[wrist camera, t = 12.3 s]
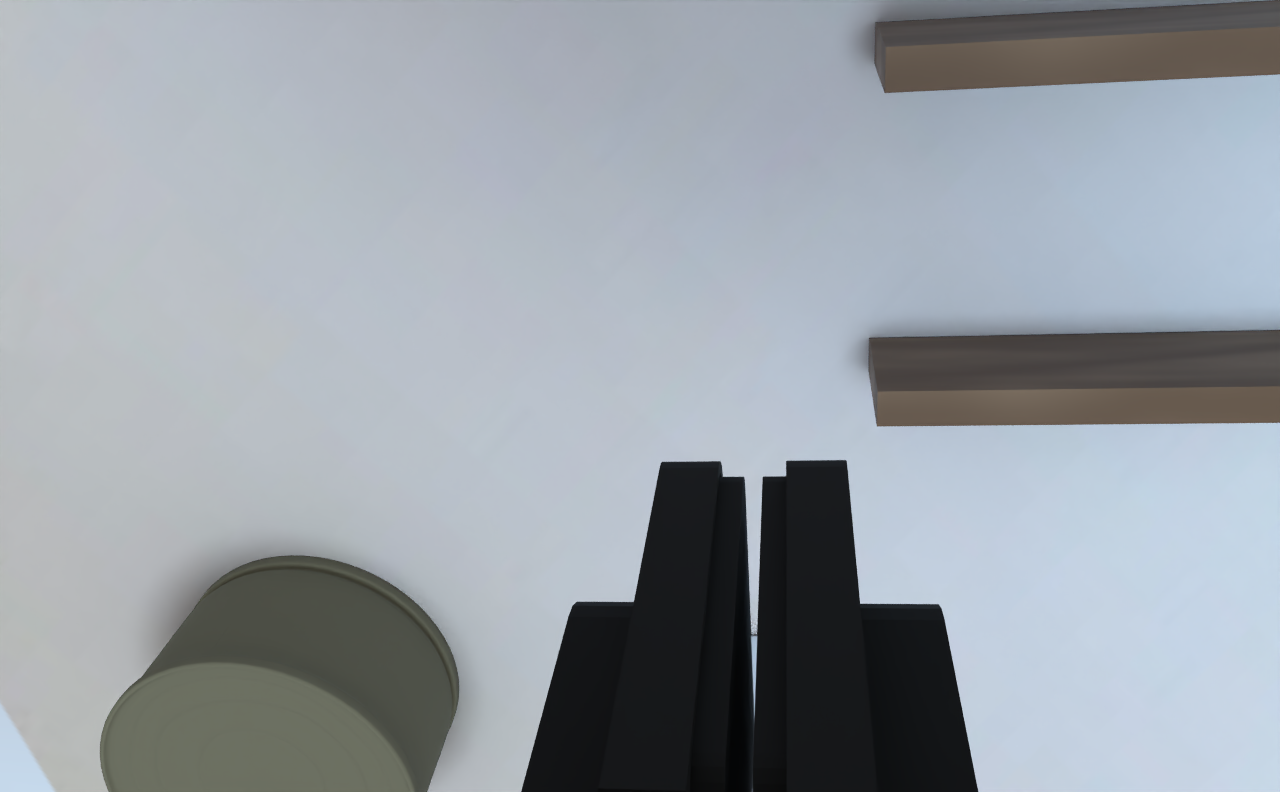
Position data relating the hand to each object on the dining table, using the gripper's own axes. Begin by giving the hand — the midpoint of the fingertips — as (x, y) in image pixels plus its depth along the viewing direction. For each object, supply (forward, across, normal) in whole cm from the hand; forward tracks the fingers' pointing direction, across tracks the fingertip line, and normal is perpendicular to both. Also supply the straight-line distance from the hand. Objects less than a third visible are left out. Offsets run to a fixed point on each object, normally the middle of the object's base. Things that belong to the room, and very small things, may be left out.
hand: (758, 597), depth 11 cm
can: (+27, +19, +24) cm, 41 cm away
